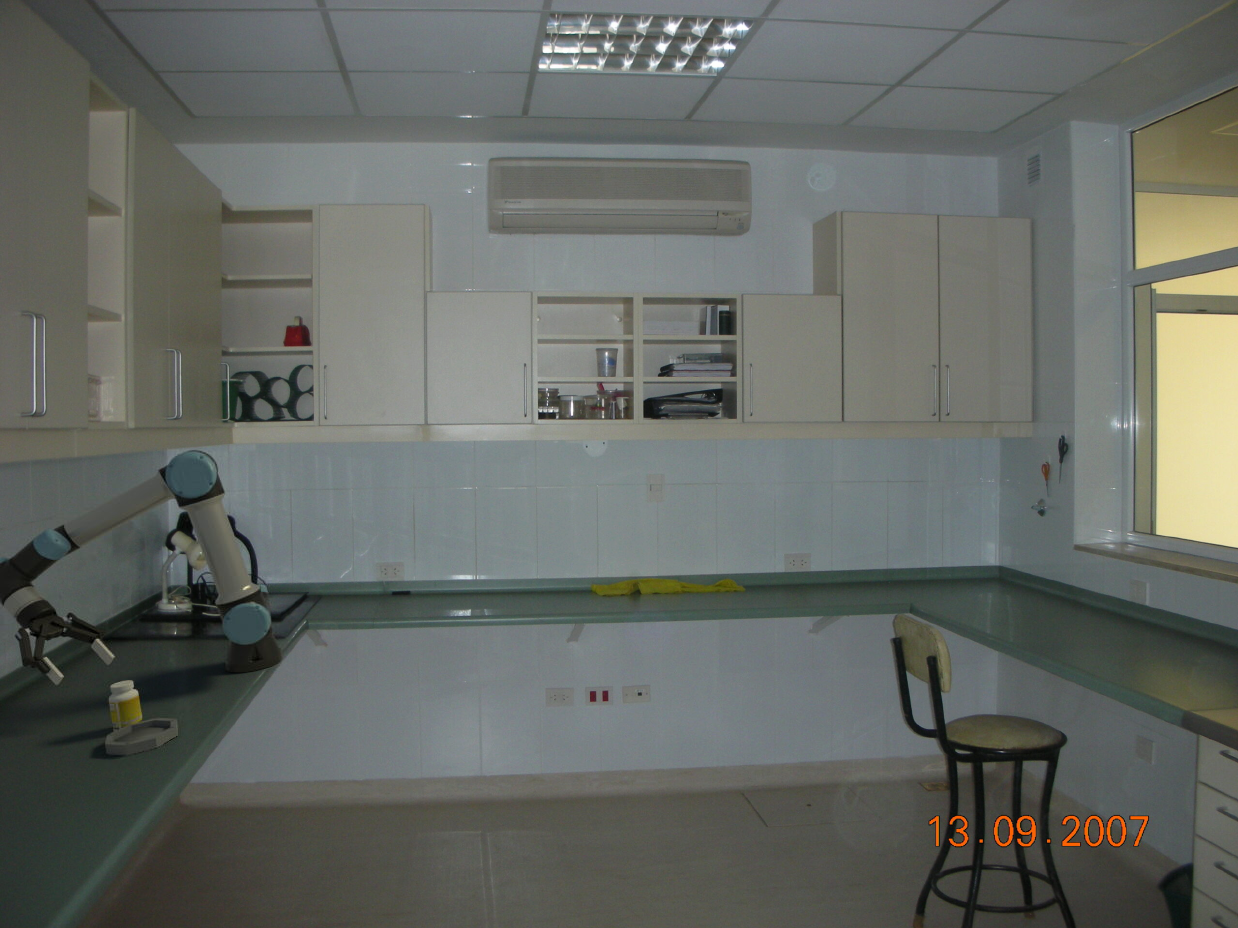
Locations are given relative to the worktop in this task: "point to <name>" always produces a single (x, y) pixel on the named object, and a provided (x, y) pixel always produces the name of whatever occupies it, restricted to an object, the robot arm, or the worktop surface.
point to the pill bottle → (124, 705)
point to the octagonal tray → (141, 736)
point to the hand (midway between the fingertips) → (86, 670)
